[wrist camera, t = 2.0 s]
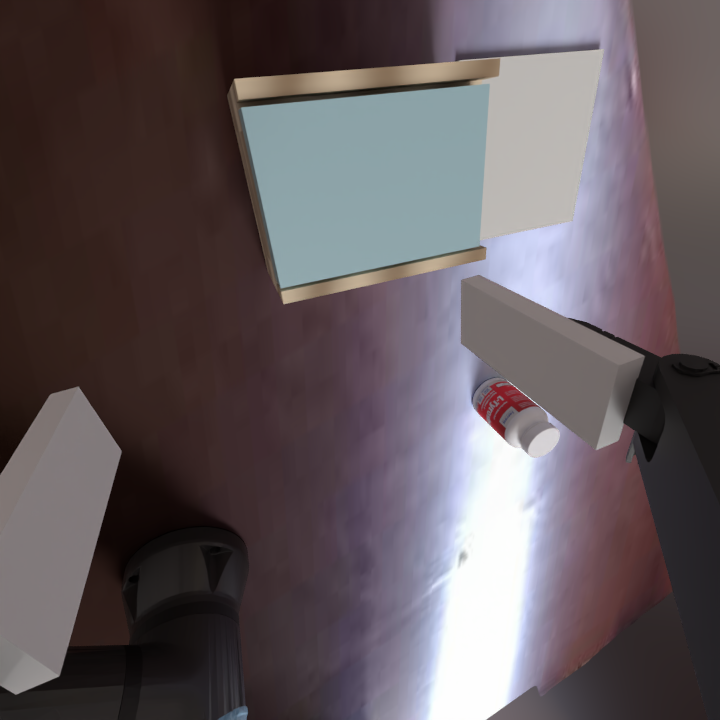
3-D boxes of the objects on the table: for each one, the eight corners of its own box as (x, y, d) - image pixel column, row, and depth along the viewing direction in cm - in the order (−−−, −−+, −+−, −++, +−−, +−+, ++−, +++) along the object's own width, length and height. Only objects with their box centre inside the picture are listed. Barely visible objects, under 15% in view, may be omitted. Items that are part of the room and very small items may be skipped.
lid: (275, 279, 30) (280, 288, 28) (238, 110, 24) (241, 107, 22) (463, 240, 34) (479, 246, 32) (470, 87, 28) (489, 83, 26)
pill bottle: (478, 376, 53) (535, 424, 44) (512, 375, 55) (573, 421, 46) (465, 413, 56) (516, 465, 47) (498, 410, 58) (553, 460, 49)
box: (267, 271, 37) (283, 304, 29) (227, 95, 29) (234, 79, 22) (434, 238, 41) (485, 259, 33) (435, 77, 33) (500, 58, 26)
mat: (450, 244, 42) (453, 245, 41) (455, 61, 33) (459, 60, 33) (568, 220, 46) (572, 220, 45) (599, 50, 37) (604, 49, 37)
